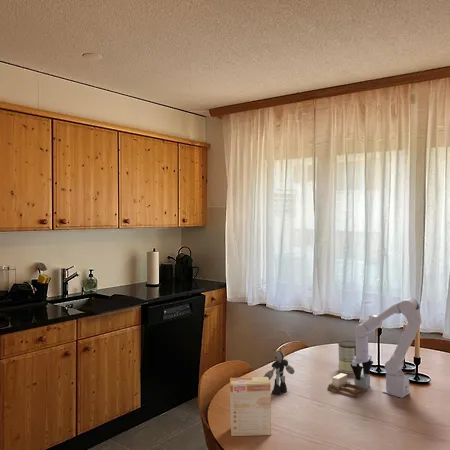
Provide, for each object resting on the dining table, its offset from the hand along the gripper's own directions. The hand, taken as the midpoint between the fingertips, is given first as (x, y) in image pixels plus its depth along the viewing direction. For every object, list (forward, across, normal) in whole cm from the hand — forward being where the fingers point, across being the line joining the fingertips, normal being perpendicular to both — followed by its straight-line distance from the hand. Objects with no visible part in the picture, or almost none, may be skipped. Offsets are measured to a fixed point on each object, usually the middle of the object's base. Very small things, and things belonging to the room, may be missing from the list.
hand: (362, 377), depth 213 cm
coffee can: (+4, -15, -16) cm, 23 cm away
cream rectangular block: (+3, +10, -6) cm, 12 cm away
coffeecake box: (+4, +71, -5) cm, 71 cm away
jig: (+4, +10, -2) cm, 11 cm away
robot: (+4, +34, -22) cm, 41 cm away
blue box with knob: (+4, 0, 0) cm, 4 cm away
